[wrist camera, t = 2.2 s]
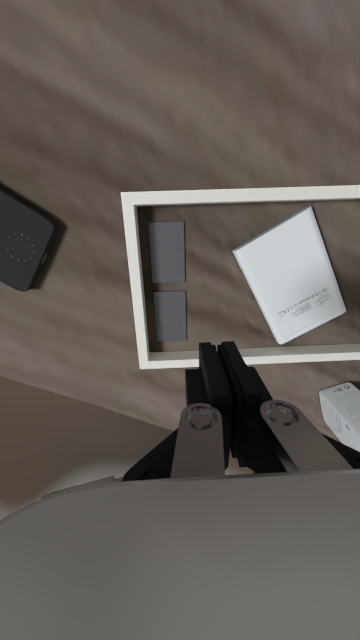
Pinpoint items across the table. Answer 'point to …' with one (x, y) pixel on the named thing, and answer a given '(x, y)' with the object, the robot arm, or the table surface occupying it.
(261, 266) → the external hard drive
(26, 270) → the smart home device
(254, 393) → the robot arm
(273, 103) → the table surface
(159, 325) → the box
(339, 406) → the skincare box
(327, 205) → the table surface
